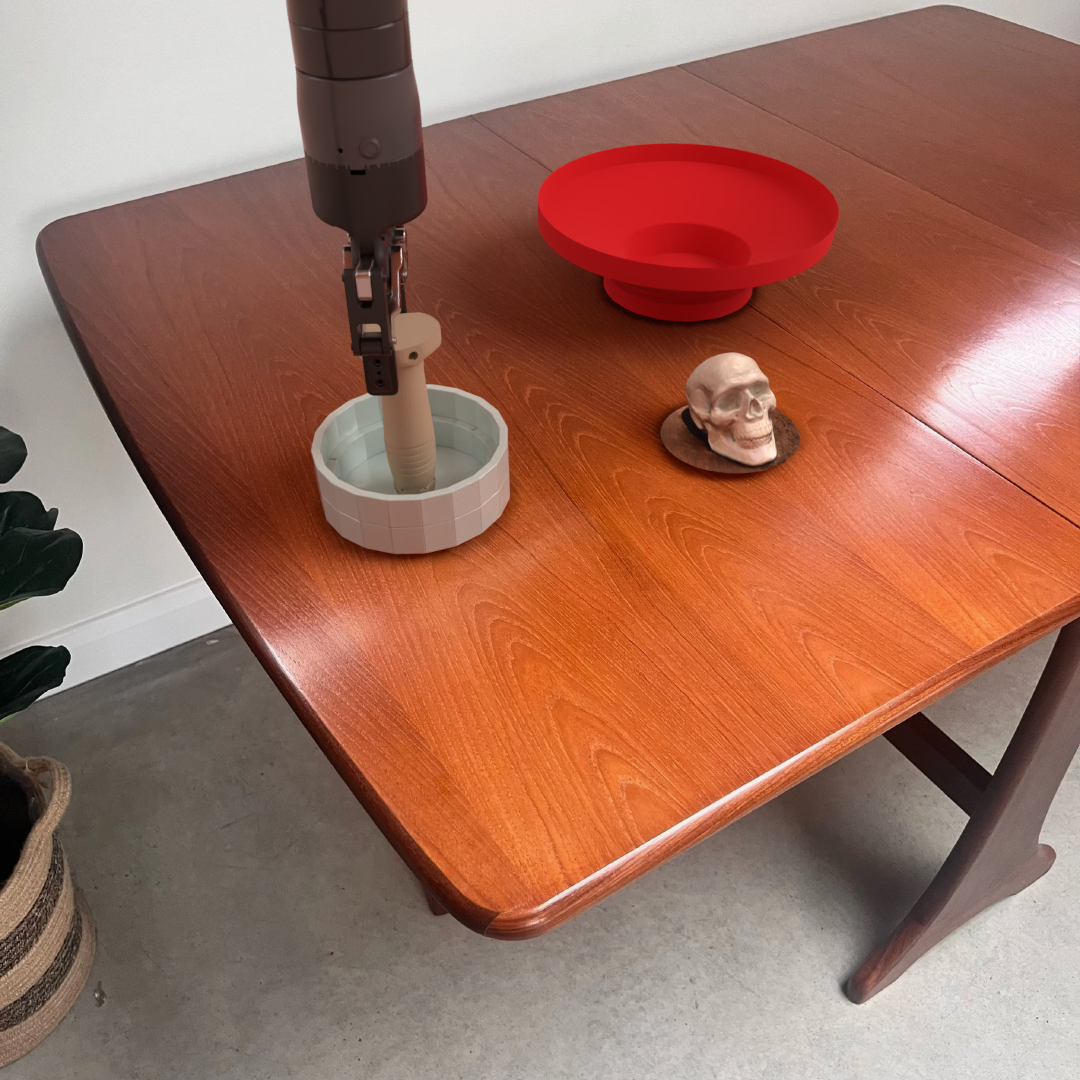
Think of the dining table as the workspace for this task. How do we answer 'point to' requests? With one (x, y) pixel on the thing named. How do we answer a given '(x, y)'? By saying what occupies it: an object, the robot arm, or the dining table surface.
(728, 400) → the skull
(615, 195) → the bowl
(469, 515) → the mixing bowl
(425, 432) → the handle
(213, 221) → the dining table surface
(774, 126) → the dining table surface
